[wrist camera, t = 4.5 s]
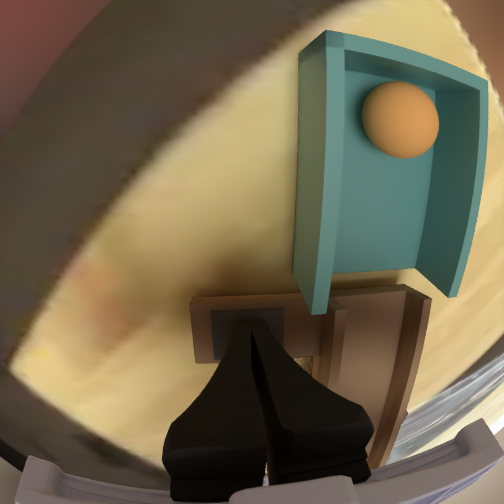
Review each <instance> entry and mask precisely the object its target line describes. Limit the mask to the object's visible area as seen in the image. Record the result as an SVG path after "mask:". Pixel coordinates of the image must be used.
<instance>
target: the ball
mask: <svg viewBox="0 0 504 504" xmlns="http://www.w3.org/2000/svg"><path fill="white" fill-rule="evenodd" d="M362 121H363V126H364V129H365V132H366V134H367V136H368V138H369V139H370V141H371V142H372V143H373V144H374V145H375V146H376V147H377V148H378V149H379V150H381V151H382V152H383V153H385V154H387V155H389V156H392V157H395V158H401V159H409V158H414V157H417V156H420V155H422V154H423V153H425V152H426V151H427V150H428V149H429V148H430V147H431V146H432V145H433V143H434V142H435V140H436V137H437V134H438V130H439V119H438V113H437V110H436V108H435V105H434V104H433V102H432V100H431V99H430V98H429V96H428V95H427V94H426V93H425V92H424V91H423V90H421V89H420V88H418V87H417V86H415V85H413V84H410V83H407V82H403V81H389V82H385V83H383V84H380V85H379V86H377V87H376V88H374V89H373V90H372V91H371V92H370V93H369V95H368V96H367V98H366V100H365V102H364V105H363V110H362Z"/></svg>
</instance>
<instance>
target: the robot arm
mask: <svg viewBox="0 0 504 504" xmlns="http://www.w3.org/2000/svg"><path fill="white" fill-rule="evenodd" d="M374 431H375V430H374V426H373V424H372V421H371V419H370V417H369V416H368V414H367V412H366V411H365V409H364V408H363V406H361V405H359V404H357V403H355V402H353V401H350V400H348V399H346V398H344V397H342V396H340V395H338V394H337V393H335V392H333V391H331V390H330V389H328V388H327V387H326V386H324V385H323V384H321V383H320V382H318V381H317V380H316V379H314V378H313V377H312V376H311V375H309V374H308V373H307V372H306V371H305V370H304V369H303V368H302V367H301V366H300V365H298V364H297V362H296V361H295V360H294V359H293V358H292V357H291V356H290V355H289V354H288V353H287V352H286V350H285V349H284V348H283V347H282V345H281V344H280V343H279V341H278V340H277V339H276V337H275V336H274V334H273V333H272V331H271V330H270V328H269V327H268V325H267V323H266V321H265V320H264V319H251V320H235V321H233V322H232V331H231V335H230V338H229V342H228V344H227V347H226V350H225V352H224V355H223V357H222V359H221V361H220V363H219V365H218V367H217V369H216V371H215V373H214V374H213V376H212V378H211V379H210V381H209V382H208V384H207V385H206V386H205V388H204V389H203V391H202V392H201V393H200V395H199V396H198V397H197V398H196V399H195V400H194V402H193V403H192V404H191V405H190V406H189V407H188V408H187V409H186V410H185V411H184V412H183V413H182V414H181V415H180V416H179V417H178V418H177V419H176V420H175V421H173V422H172V423H171V425H170V428H169V430H168V433H167V435H166V438H165V442H164V446H163V454H162V462H163V465H164V467H165V469H166V470H167V472H168V474H169V476H170V477H171V485H170V491H160V490H150V489H141V488H134V487H127V486H120V485H115V484H109V483H104V482H99V481H94V480H90V479H85V478H81V477H77V476H73V475H69V474H66V473H63V472H62V471H61V469H60V468H59V467H57V466H56V465H55V464H53V463H51V462H48V461H45V460H42V459H39V458H36V457H33V456H28V459H27V462H26V465H25V468H24V471H23V474H22V477H21V480H20V483H19V487H18V490H17V494H16V497H15V503H16V504H439V503H441V502H442V501H444V500H446V499H448V498H450V497H451V496H453V495H455V494H457V493H458V492H460V491H462V490H463V489H465V488H467V487H468V486H470V485H472V484H473V483H475V482H476V481H478V480H479V479H480V478H481V477H482V476H483V475H485V474H486V473H487V472H488V471H489V470H490V469H491V468H492V467H494V466H495V465H496V464H497V463H498V462H499V461H500V460H501V459H502V458H503V457H504V451H503V450H502V448H501V447H500V445H499V443H498V442H497V440H496V438H495V437H494V435H493V434H492V432H491V431H490V429H489V427H488V426H487V424H486V423H485V421H484V420H483V418H480V419H478V420H477V421H475V422H473V423H471V424H469V425H467V426H465V427H464V428H463V429H461V430H460V431H459V432H458V434H457V435H456V436H455V438H454V439H452V440H450V441H447V442H445V443H443V444H441V445H438V446H436V447H434V448H432V449H429V450H427V451H424V452H422V453H419V454H417V455H414V456H411V457H409V458H406V459H403V460H400V461H398V462H395V463H392V464H389V465H386V466H382V467H379V468H376V469H373V470H370V468H369V466H368V463H367V460H366V459H367V458H368V454H367V451H366V449H365V448H366V446H367V444H368V443H369V441H370V439H371V438H372V436H373V434H374ZM266 463H267V471H268V476H266V475H265V469H266ZM268 481H269V486H268Z"/></svg>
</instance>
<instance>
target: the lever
mask: <svg viewBox="0 0 504 504" xmlns="http://www.w3.org/2000/svg"><path fill="white" fill-rule="evenodd" d="M431 301H432V298H430V297H428V296H426V295H424V294H422V293H421V292H419V291H417V290H415V289H413V288H411V287H409V286H407V285H405V284H400V285H389V286H379V287H368V288H356V289H344V290H330V292H329V299H328V305H327V312H326V314H317V315H311V313H310V311H309V309H308V307H307V304H306V302H305V300H304V298H303V295H302V293H285V294H266V295H245V296H219V297H192V299H191V302H190V313H191V324H192V334H193V344H194V353H195V362H196V363H220V361H221V359H222V357H223V355H224V352H225V350H226V347H227V344H228V342H229V338H230V335H231V331H232V322H233V321H235V320H251V319H264V320H265V321H266V323H267V325H268V327H269V328H270V330H271V331H272V333H273V334H274V336H275V337H276V339H277V340H278V341H279V343H280V344H281V345H282V347H283V348H284V349H285V350H286V352H287V353H288V354H289V355H290V356H291V357H292V358H300V357H310V356H313V365H312V377H313V378H314V379H316V380H317V381H318V382H320V383H321V384H323V385H324V386H326V387H327V388H328V389H330V390H331V391H333V392H335V393H337V394H338V395H340V396H342V397H344V398H346V399H348V400H350V401H353V402H355V403H357V404H359V405H361V406H363V408H364V409H365V411H366V412H367V414H368V416H369V417H370V419H371V421H372V424H373V426H374V430H375V431H374V434H373V436H372V438H371V439H370V441H369V443H368V444H367V446H366V448H365V449H366V451H367V454H368V458H367V459H366V460H367V463H368V466H369V468H370V470H373V469H376V468H379V467H382V466H385V465H386V462H387V460H388V458H389V455H390V453H391V450H392V448H393V445H394V443H395V440H396V437H397V435H398V432H399V429H400V426H401V423H402V420H403V418H404V415H405V411H406V408H407V405H408V402H409V399H410V395H411V392H412V389H413V385H414V381H415V378H416V374H417V370H418V366H419V362H420V358H421V354H422V349H423V345H424V340H425V335H426V330H427V325H428V320H429V314H430V308H431Z"/></svg>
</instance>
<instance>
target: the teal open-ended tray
mask: <svg viewBox="0 0 504 504" xmlns="http://www.w3.org/2000/svg"><path fill="white" fill-rule="evenodd" d="M389 81H403V82H407V83H410V84H413V85H415V86H417V87H418V88H420V89H421V90H423V91H424V92H425V93H426V94H427V95H428V96H429V98H430V99H431V100H432V102H433V104H434V105H435V108H436V110H437V113H438V119H439V130H438V134H437V137H436V140H435V142H434V143H433V145H432V146H431V147H430V148H429V149H428V150H427V151H426V152H425V153H423V154H422V155H420V156H417V157H414V158H409V159H401V158H395V157H392V156H389V155H387V154H385V153H383V152H382V151H381V150H379V149H378V148H377V147H376V146H375V145H374V144H373V143H372V142H371V141H370V139H369V138H368V136H367V134H366V132H365V129H364V126H363V121H362V110H363V105H364V102H365V100H366V98H367V96H368V95H369V93H370V92H371V91H372V90H373V89H374V88H376V87H377V86H379V85H380V84H383V83H385V82H389ZM487 137H488V81H487V80H485V79H483V78H481V77H479V76H477V75H474V74H472V73H470V72H468V71H466V70H463V69H461V68H459V67H456V66H454V65H451V64H449V63H446V62H444V61H441V60H439V59H436V58H433V57H430V56H428V55H425V54H422V53H419V52H416V51H413V50H410V49H406V48H403V47H400V46H396V45H393V44H389V43H386V42H382V41H378V40H374V39H370V38H365V37H361V36H356V35H351V34H346V33H341V32H335V31H330V30H325V31H324V32H323V33H321V34H320V35H319V36H318V37H317V38H316V39H314V40H313V41H312V42H311V43H310V44H309V45H307V46H306V47H305V48H304V49H303V50H302V51H301V52H300V53H299V134H298V170H297V196H296V217H295V236H294V253H293V268H292V273H293V276H294V278H295V280H296V282H297V284H298V287H299V289H300V291H301V293H302V295H303V298H304V300H305V302H306V304H307V307H308V309H309V311H310V313H311V315H317V314H326V312H327V305H328V299H329V292H330V285H331V277H332V274H333V273H350V272H366V271H380V270H395V269H408V268H415V269H417V270H418V271H419V272H420V273H421V274H422V275H423V276H425V277H426V278H427V279H428V280H429V281H430V282H431V283H432V284H433V285H435V286H436V287H437V288H438V289H439V290H440V291H441V292H442V293H443V294H444V295H445V296H446V297H448V298H451V297H456V296H457V293H458V290H459V287H460V284H461V281H462V277H463V274H464V271H465V267H466V264H467V260H468V256H469V252H470V248H471V244H472V240H473V236H474V231H475V226H476V222H477V217H478V211H479V206H480V200H481V194H482V187H483V180H484V172H485V162H486V151H487Z"/></svg>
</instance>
